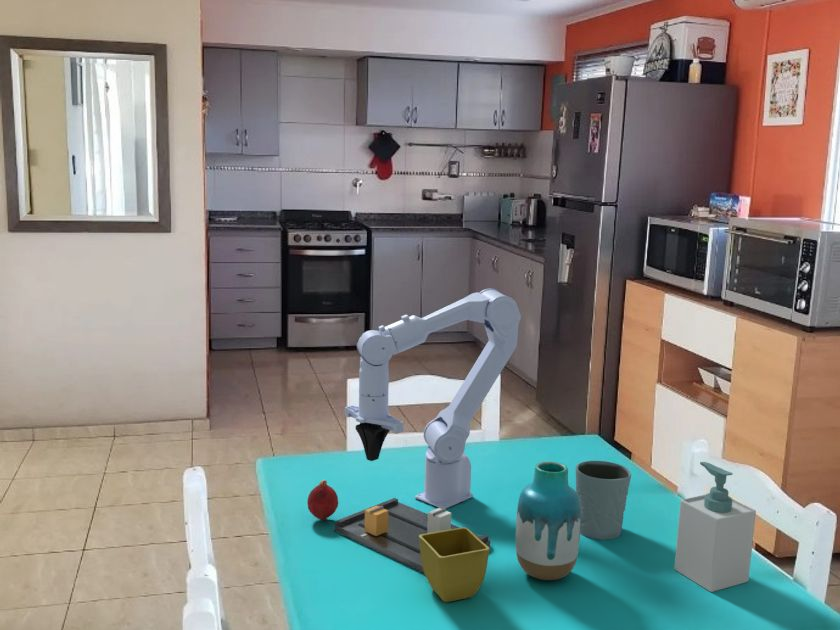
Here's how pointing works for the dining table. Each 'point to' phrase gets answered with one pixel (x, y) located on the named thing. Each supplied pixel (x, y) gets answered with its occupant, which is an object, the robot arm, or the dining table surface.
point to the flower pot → (454, 562)
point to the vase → (548, 524)
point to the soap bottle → (715, 537)
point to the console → (393, 533)
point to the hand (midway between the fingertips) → (372, 459)
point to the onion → (322, 501)
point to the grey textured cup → (602, 498)
